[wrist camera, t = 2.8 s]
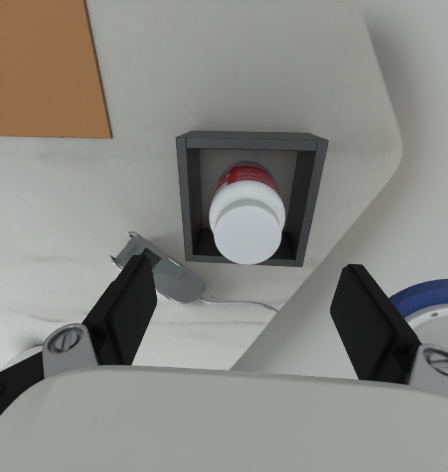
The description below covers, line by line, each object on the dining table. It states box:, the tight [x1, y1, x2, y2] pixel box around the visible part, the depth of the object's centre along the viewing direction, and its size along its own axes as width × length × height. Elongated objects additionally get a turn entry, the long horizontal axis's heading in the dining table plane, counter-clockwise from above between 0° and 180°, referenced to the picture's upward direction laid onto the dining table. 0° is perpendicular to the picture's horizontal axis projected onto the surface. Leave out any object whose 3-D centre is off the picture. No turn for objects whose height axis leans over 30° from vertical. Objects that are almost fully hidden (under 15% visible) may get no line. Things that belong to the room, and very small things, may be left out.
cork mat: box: [0, 0, 112, 138], centre depth 22 cm, size 16×12×1 cm
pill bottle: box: [209, 162, 285, 265], centre depth 21 cm, size 6×6×11 cm
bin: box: [176, 131, 329, 267], centre depth 23 cm, size 12×12×6 cm
